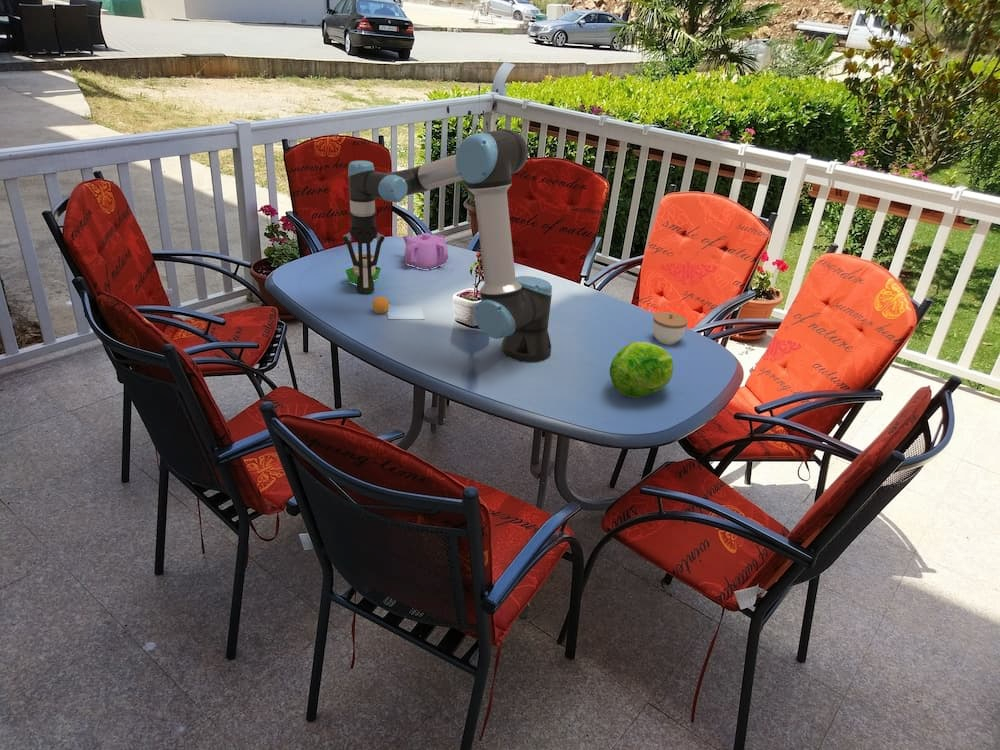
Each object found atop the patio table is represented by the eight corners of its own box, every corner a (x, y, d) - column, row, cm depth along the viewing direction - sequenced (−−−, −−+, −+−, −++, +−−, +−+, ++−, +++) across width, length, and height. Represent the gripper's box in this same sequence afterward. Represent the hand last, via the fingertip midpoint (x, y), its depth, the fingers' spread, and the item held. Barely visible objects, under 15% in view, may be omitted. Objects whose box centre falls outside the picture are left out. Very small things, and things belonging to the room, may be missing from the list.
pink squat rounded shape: (406, 271, 268) (407, 240, 263) (402, 257, 283) (402, 227, 277) (450, 271, 272) (452, 240, 266) (444, 257, 287) (445, 227, 281)
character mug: (368, 284, 254) (367, 250, 247) (383, 289, 250) (383, 254, 244) (347, 293, 245) (345, 257, 239) (362, 298, 242) (361, 262, 236)
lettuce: (630, 364, 209) (676, 389, 202) (590, 390, 193) (639, 418, 186) (644, 321, 201) (693, 345, 194) (603, 345, 185) (655, 373, 178)
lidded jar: (661, 330, 236) (666, 304, 231) (689, 342, 229) (695, 315, 225) (643, 338, 229) (647, 312, 224) (670, 350, 222) (676, 323, 218)
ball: (371, 315, 231) (387, 317, 232) (372, 304, 227) (389, 307, 228) (372, 302, 234) (389, 305, 235) (373, 292, 230) (390, 294, 231)
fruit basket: (367, 276, 262) (366, 246, 256) (384, 282, 257) (384, 252, 252) (344, 283, 253) (343, 253, 248) (362, 290, 249) (361, 259, 244)
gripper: (383, 210, 221) (386, 281, 231) (341, 210, 218) (345, 282, 229) (384, 216, 214) (386, 289, 225) (340, 216, 212) (345, 290, 223)
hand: (365, 286), depth 227 cm, fingers closed
